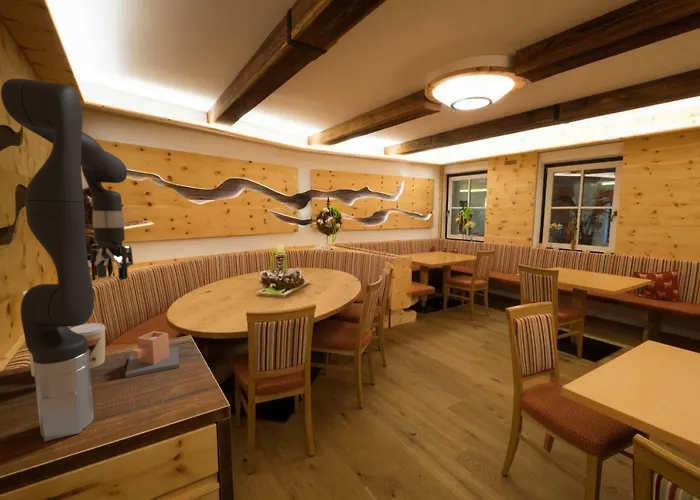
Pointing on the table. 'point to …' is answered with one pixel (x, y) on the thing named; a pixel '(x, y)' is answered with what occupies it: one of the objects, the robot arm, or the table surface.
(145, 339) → the orange hollow box
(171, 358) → the base
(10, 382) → the table surface
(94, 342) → the coffee cup
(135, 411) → the table surface
